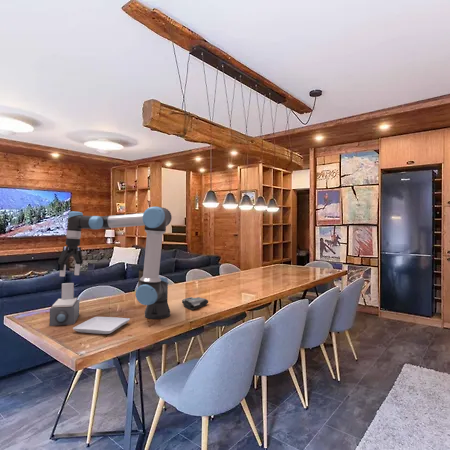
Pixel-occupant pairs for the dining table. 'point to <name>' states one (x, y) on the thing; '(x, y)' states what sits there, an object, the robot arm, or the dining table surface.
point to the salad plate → (101, 325)
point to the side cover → (66, 296)
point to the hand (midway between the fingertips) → (69, 275)
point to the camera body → (64, 315)
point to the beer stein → (140, 275)
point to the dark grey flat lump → (194, 302)
